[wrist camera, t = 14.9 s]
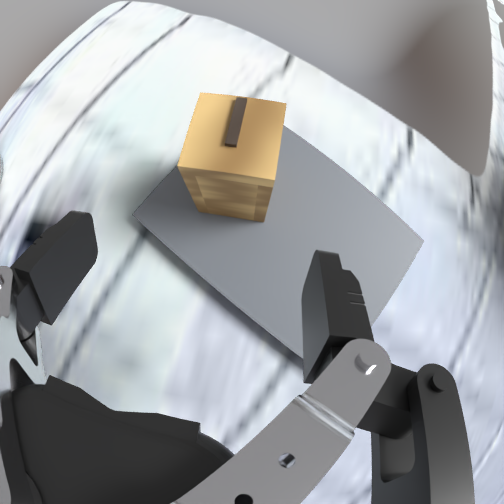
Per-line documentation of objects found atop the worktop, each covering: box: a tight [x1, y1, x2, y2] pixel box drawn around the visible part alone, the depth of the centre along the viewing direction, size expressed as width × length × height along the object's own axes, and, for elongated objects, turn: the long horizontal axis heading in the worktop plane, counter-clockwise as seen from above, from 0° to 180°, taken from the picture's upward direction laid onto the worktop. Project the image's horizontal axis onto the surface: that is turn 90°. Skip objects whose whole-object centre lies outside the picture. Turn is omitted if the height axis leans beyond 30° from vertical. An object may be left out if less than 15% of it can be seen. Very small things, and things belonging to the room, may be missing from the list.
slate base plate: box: [132, 125, 424, 359], centre depth 23 cm, size 20×14×2 cm
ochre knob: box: [177, 93, 286, 222], centre depth 19 cm, size 5×5×8 cm
